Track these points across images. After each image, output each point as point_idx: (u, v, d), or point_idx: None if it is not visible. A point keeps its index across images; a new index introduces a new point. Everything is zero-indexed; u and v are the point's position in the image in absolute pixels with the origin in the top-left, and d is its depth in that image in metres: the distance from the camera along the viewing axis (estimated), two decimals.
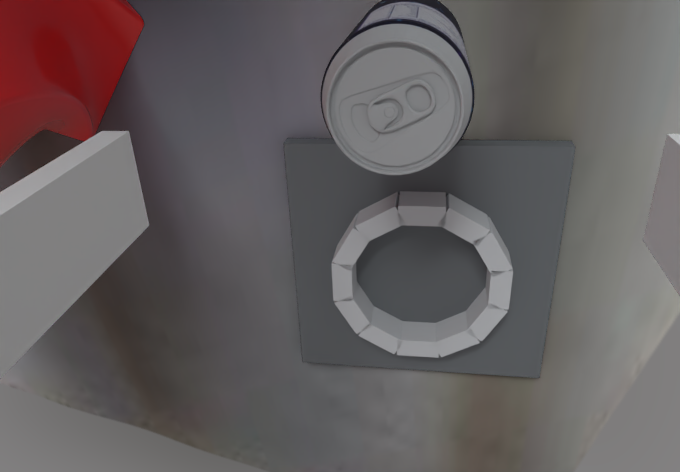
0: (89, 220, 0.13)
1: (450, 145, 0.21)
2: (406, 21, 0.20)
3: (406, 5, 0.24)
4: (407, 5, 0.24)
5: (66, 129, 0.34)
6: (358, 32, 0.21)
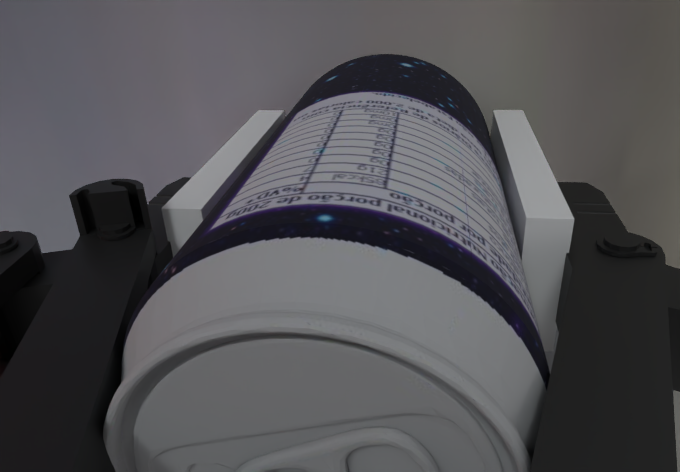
0: None
1: None
2: (346, 227, 0.06)
3: (369, 110, 0.10)
4: (372, 110, 0.10)
5: None
6: (201, 250, 0.07)
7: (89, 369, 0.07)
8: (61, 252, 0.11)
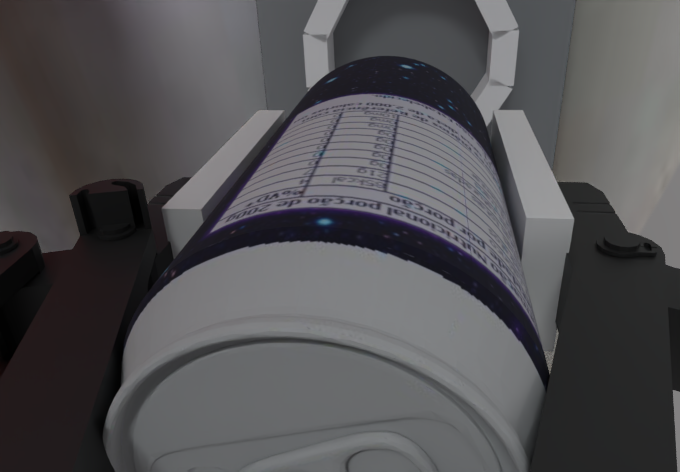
0: None
1: None
2: (346, 231, 0.06)
3: (369, 113, 0.10)
4: (372, 113, 0.10)
5: None
6: (201, 254, 0.07)
7: (90, 369, 0.07)
8: (61, 252, 0.11)
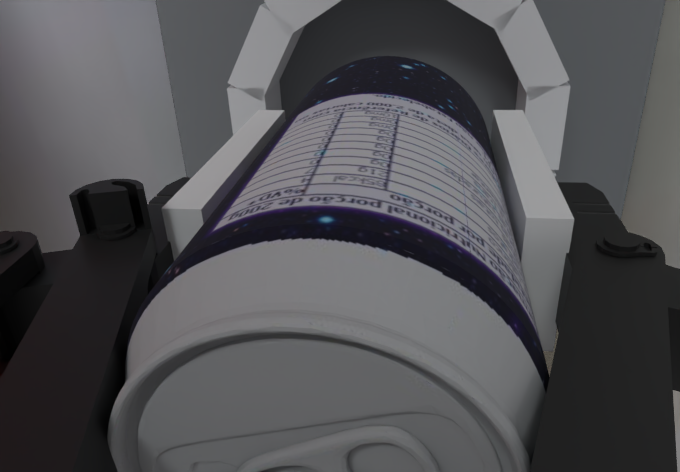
0: None
1: None
2: (347, 228, 0.06)
3: (370, 112, 0.10)
4: (372, 112, 0.10)
5: None
6: (204, 251, 0.07)
7: (90, 369, 0.07)
8: (61, 252, 0.11)
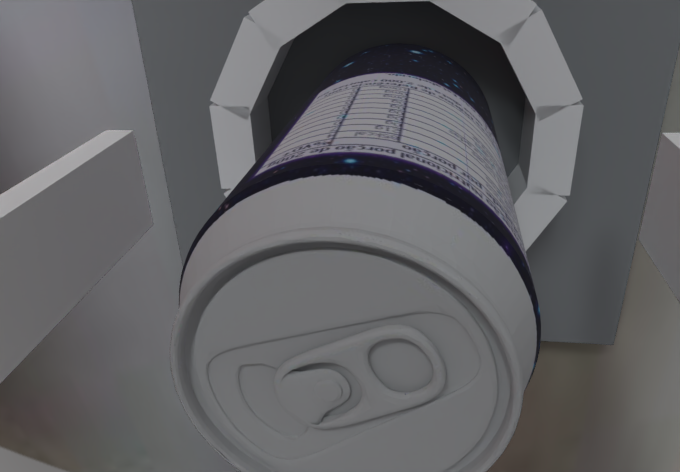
0: (94, 219, 0.13)
1: (484, 469, 0.08)
2: (368, 167, 0.08)
3: (384, 87, 0.12)
4: (386, 87, 0.12)
5: None
6: (249, 189, 0.08)
7: None
8: None
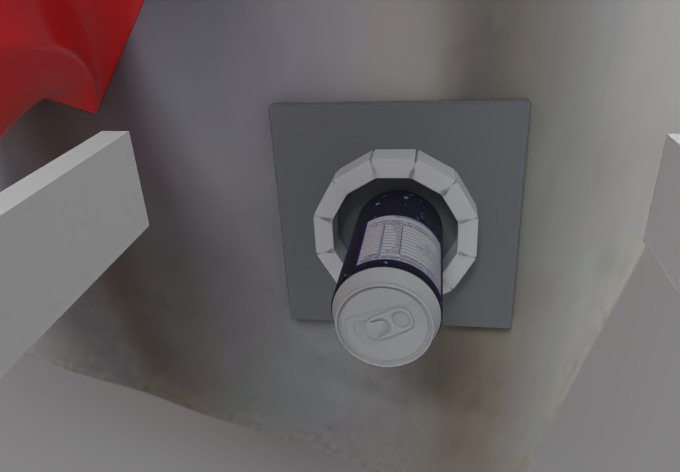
0: (89, 220, 0.13)
1: (425, 349, 0.29)
2: (391, 264, 0.28)
3: (393, 225, 0.32)
4: (394, 225, 0.32)
5: (74, 98, 0.38)
6: (357, 270, 0.29)
7: None
8: None
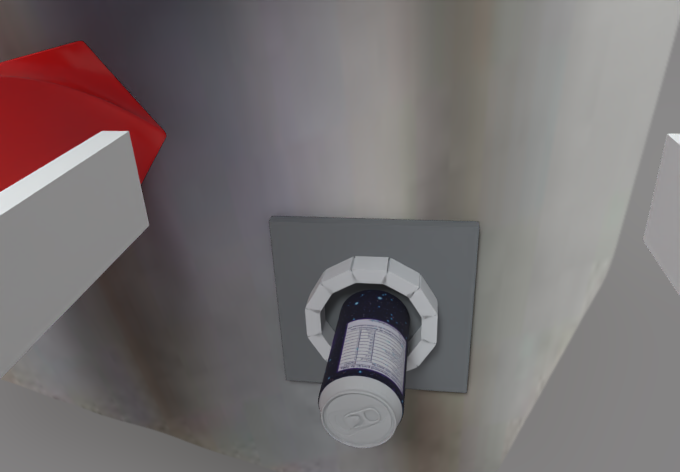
0: (89, 220, 0.13)
1: (390, 437, 0.37)
2: (364, 373, 0.37)
3: (368, 330, 0.41)
4: (368, 330, 0.41)
5: None
6: (338, 376, 0.37)
7: None
8: None
